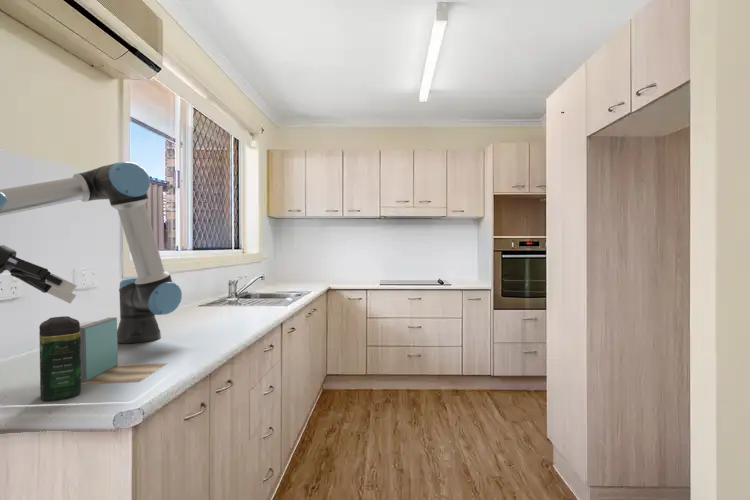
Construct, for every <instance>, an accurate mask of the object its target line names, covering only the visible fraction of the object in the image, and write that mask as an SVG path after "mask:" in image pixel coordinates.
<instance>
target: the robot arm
mask: <svg viewBox="0 0 750 500" xmlns="http://www.w3.org/2000/svg"><path fill="white" fill-rule="evenodd" d="M150 185H151V179H150V176H149V174H148V172H147V171H146V169H145V168H144V167H142V166H141V165H139V164H138V163H135V162H132V161H119V162H115V163H111V164H108V165H103V166H99V167H97V168H94V169H91V170H87V171H84V172H79V173H74V174H73V175H72V177H66V178H62V179H61V178H60V179H55V180H50V181H43V182H37V183H31V184H27V185H21V186H20V185H19V186H14V187H8V188H7V187H6V188H2V189H0V217H1V216H7V215H11V214H16V213H17V214H18V213H21V212H26V211H31V210H36V209H40V208H42V209H43V208H45V207H46V208H47V207H50V206H55V205H60V204H65V203H70V202H71V203H72V202H75V201H82V202H90V201H99V200H100V201H101V200H109V204H110V206H111V208H114V209H115V210H117V212H118V216H119V219H120V222H121V226H122V229H123V232H124V235H125V238H126V242H127V244H128V248H129V251H130V255H131V259H132V262H133V264H134V269H135V270H136V274H137V277H135V278H134V277H133V278H132V277H131V278H126V279H122V280H121V281H120V282H119V288H118V292H119V314H120V315H119V316H120V317H119V318H120V319H119V323H118V325H117V344H137V343H144V342H145V343H146V342H152V341H155V340H159V339H161V336H162V333H161V329H160V327H159V324H158V322H157V319H156V315H157V316H160V315H162V316H163V315H168V314H169V315H170V314H171V313H173V312H174V311H176V310H177V309H178V307H179V305H180V303H181V302H182V299H183V298H182V297H183V293H182V290H181V288H180V286H179V285H178V284H176V283H175V282H173V280H172V277H171V274H170V272H168V271H167V270H165V268H164V266H163V261H162V259H161V255H160V252H159V248H158V245H157V241H156V238H155V233H154V231H153V227H152V225H151V224H152V222H151V220H150V218H149V217H150V216H149V213H148V211H147V210H148V209H147V207H146V203H148V202H149V196H148V190H149V189H150V187H151V186H150ZM6 271H8V272H9V273H10V275H11V276H12V277H14V278H16V279H19V280H20V281H22V282H24V283H25V284H27V285H29V286H31V287H33V288H35V289H37V290H39V291H40V292H42V294H43V293H45V294H46V293H47V294H49V295H52V296H53V297H55V298H57V299H60V300H62V301H64V302H66V303H68V304H71V303H72V302H73V301H74V299H76V297H77V295H76V294H75V293H74V291H75V289H76V288H77V286H78V285H76V284H75V283H72V282H70V281H68V280H66V279H64V278H63V277H60V276H58V275H55V274H54V273H51V272H50V271H49V270H48V268H46V267H43V266H40V265H37V264H35V263H32V262H29V261H26V260H24V259H21V258H19V257H17V251H16V250H14V249H12V248H11V247H8V246H7V245H4V244H2V245H1V244H0V275H1V274H2V273H4V272H6Z"/></svg>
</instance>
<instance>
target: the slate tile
mask: <svg viewBox="0 0 750 500" xmlns="http://www.w3.org/2000/svg"><path fill="white" fill-rule="evenodd" d="M95 321H96V322H93V323H90V324H86V325H83V326H80V338H81V383H85V382H87V381H89V380H91V379H93V378H95V377H97V376H99V375H101V374H102V373H104V372H106V371H108V370H110V369H112V368H114V367H116V366H118V365H119V364H118V362H119V361H118V360H119V358H118V356H119V355H118V343H117V329H118V318H117V317H106V318H104V319H99V320H95Z"/></svg>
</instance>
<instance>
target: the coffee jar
mask: <svg viewBox="0 0 750 500" xmlns="http://www.w3.org/2000/svg"><path fill="white" fill-rule="evenodd" d="M48 318H49V319H46V320H44V321H43V322H41V323H40V324H39V332H38V333H39V377H40V378H39V379H40V380H39V384H40V385H39V390H40V391H39V392H40V399H41V400H42V401H43V402H58V401H64V400H68V399H71V398H74V397H78V396H79V395H80V394H81V392H82V384H81V338H80V323H79V322H80V321H79V320H78V319H76V318H73V317H71V316H66V315H65V316H55V317H48Z"/></svg>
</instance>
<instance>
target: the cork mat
mask: <svg viewBox="0 0 750 500" xmlns="http://www.w3.org/2000/svg"><path fill="white" fill-rule="evenodd" d="M167 364H169V363H167V362H162V363H160V362H157V363H127V364H118V366H116V367H114V368H112V369H110V370H108V371H106V372H104V373H102V374H101V375H99V376H97V377H95V378H93V379H91V380H89V381H87V382H85V383H81V385H91V384H122V383H124V384H125V383H127V384H128V383H140V382H142V381H144V380H145V379H146V378H148V377H149V376H151V375H152V374H154V373H156V372H158V371H159V370H160V369H162V368H163V367H165V366H166V365H167Z"/></svg>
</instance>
